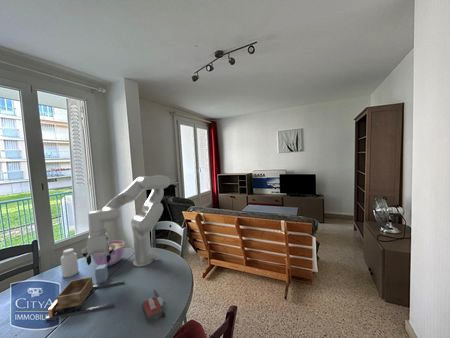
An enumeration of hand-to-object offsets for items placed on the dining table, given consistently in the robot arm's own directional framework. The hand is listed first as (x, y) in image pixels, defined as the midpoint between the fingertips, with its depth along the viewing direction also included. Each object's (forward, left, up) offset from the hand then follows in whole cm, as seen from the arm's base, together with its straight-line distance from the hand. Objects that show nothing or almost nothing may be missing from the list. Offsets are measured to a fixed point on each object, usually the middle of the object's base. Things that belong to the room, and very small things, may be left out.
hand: (99, 262), depth 114 cm
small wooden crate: (+5, +16, -11) cm, 20 cm away
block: (-1, 0, -11) cm, 11 cm away
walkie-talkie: (-31, +31, -11) cm, 45 cm away
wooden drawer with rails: (0, +16, -11) cm, 19 cm away
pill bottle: (+21, -14, -11) cm, 28 cm away
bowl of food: (+1, -20, -11) cm, 23 cm away
